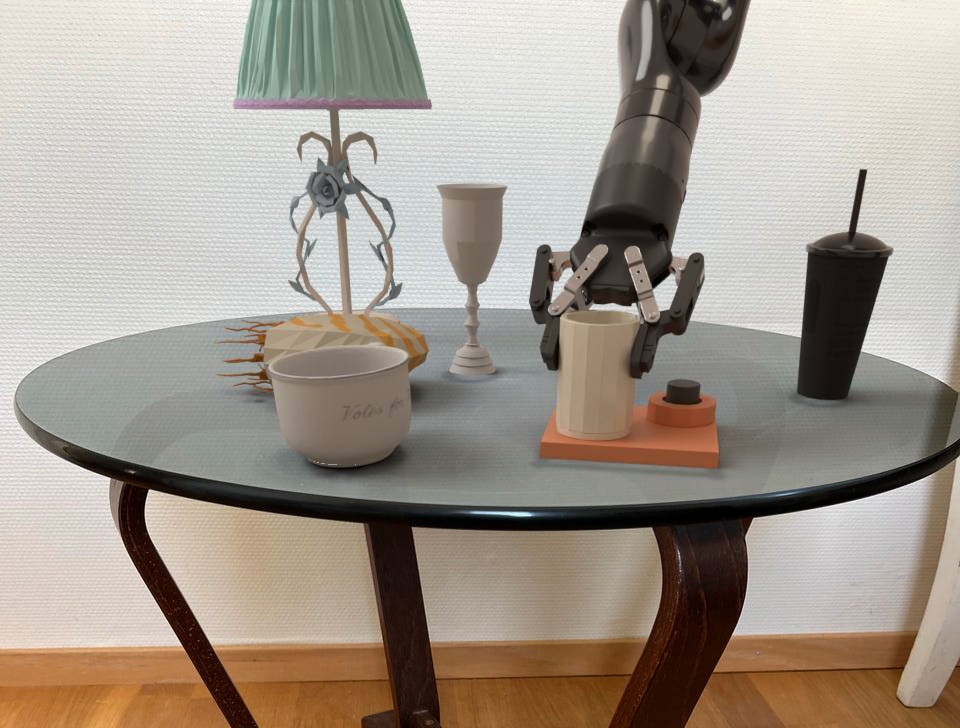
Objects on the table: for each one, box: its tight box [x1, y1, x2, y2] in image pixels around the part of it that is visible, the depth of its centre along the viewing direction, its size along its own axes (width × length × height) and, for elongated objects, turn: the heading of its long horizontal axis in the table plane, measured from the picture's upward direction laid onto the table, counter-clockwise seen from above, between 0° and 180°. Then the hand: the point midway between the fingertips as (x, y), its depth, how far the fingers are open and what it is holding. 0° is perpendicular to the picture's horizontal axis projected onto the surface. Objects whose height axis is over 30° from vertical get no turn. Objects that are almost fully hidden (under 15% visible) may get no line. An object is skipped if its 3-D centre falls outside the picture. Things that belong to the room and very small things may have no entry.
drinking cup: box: [796, 168, 894, 401], centre depth 88 cm, size 8×8×20 cm
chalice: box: [436, 182, 509, 376], centre depth 97 cm, size 7×7×18 cm
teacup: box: [268, 342, 412, 468], centre depth 75 cm, size 14×11×8 cm
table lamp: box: [232, 0, 433, 323], centre depth 106 cm, size 22×22×40 cm
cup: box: [555, 309, 642, 441], centre depth 76 cm, size 6×6×9 cm
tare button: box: [665, 378, 702, 405], centre depth 80 cm, size 3×3×2 cm
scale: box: [539, 391, 720, 469], centre depth 79 cm, size 14×12×3 cm
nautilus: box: [213, 313, 430, 396], centre depth 91 cm, size 8×22×15 cm
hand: (592, 368), depth 74 cm, fingers closed on cup, 6 cm apart
